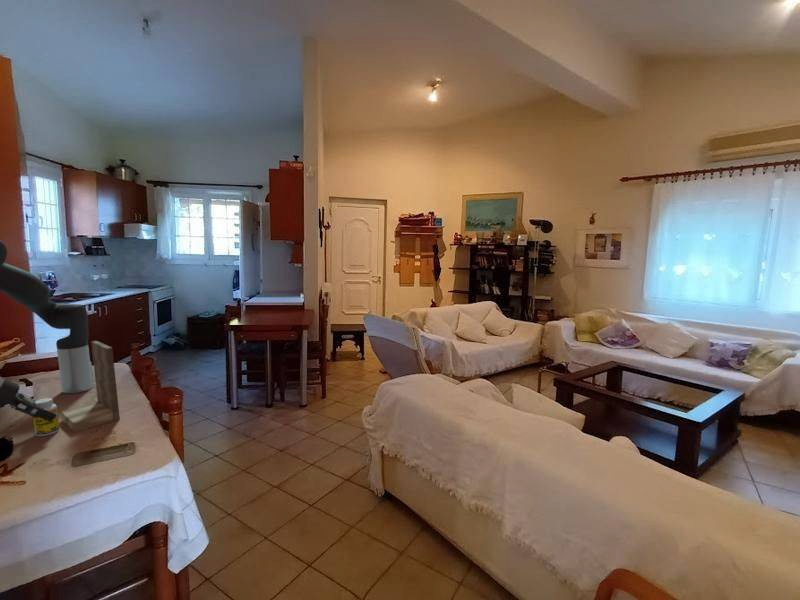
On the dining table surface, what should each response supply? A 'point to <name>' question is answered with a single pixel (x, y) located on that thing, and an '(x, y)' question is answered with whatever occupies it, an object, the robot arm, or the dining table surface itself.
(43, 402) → the supplement bottle
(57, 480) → the dining table surface
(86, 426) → the wooden bookend
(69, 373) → the robot arm
